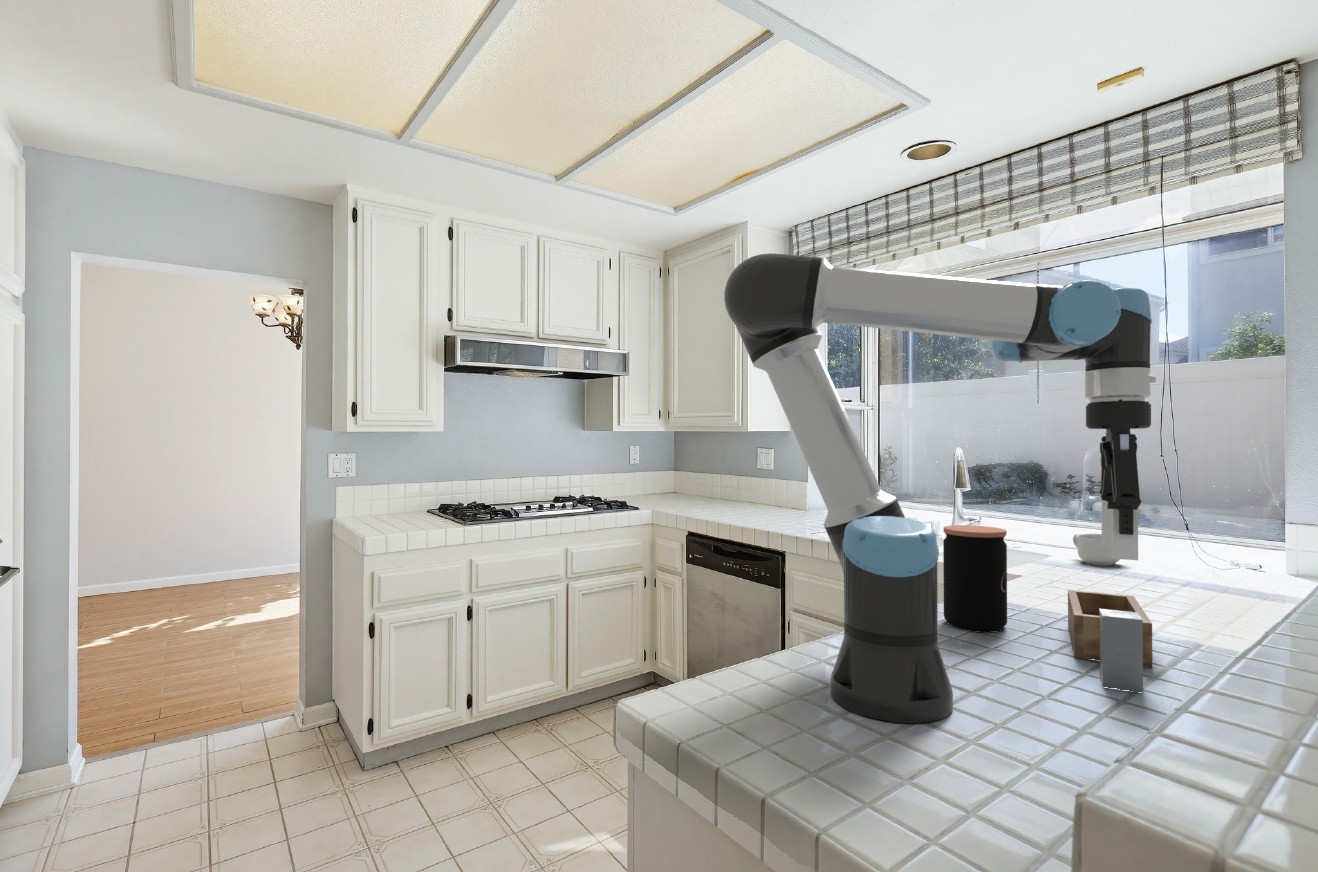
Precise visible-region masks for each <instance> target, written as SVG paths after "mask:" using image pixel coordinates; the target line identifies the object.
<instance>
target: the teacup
mask: <svg viewBox="0 0 1318 872" xmlns="http://www.w3.org/2000/svg"><path fill="white" fill-rule="evenodd" d="M1072 542H1073V545H1074V546H1075V547H1076V550H1077V554H1078V557H1079V558H1080V559H1081V560H1082V561H1083V562H1085V563H1086V564H1088V565H1094V566H1102V567H1104V566H1106V567H1107V566H1113V565H1115V564H1116V563H1118V562H1119V561H1120V560H1121V559H1113V558H1112V545H1102V533H1076V534H1074V535H1073V537H1072Z"/></svg>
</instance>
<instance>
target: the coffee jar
mask: <svg viewBox="0 0 1318 872" xmlns="http://www.w3.org/2000/svg"><path fill="white" fill-rule="evenodd" d="M1007 532H1008V531H1007V530H1006V529H1004V528H999V527H994V526H985V525H984V526H983V525H971V524H969V525H966V524H963V525H961V524H960V525H959V524H957V525H956V524H955V525H954V524H953V525H945V526H943V533H944V534H945V538H944V539H943V540H942V541H943V543H942V544H943V548H942V549H943V550H942V551H943V552H942V553H943V556H942V557H943V558H942V559H943V567H942V568H943V617H944V619H945V621H946V623H947V624H948V623H949V624H950V625H949V624H948V625H949V626H951V625H952V626H951V627H953V626H954V627H953V628H955V627H958V628H961V629H960V630H962V629H966V630H965V631H967V630H970V631H969V632H973V631H979V632H978V633H996V632H995V631H998V632H1001V631H1003V629H1004V628H1005V626H1006V625H1007V624H1008V544H1007V543H1006V541H1005V537H1006V536H1007ZM958 628H957V629H958ZM1000 630H1001V631H1000ZM993 631H994V632H993Z"/></svg>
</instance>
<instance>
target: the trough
mask: <svg viewBox="0 0 1318 872" xmlns="http://www.w3.org/2000/svg"><path fill="white" fill-rule="evenodd" d="M1099 609H1108V610H1118V611H1127V612H1137V613H1138V614H1139V615H1140V617H1141V619H1142V628H1143V667H1148V668H1147V669H1150V668H1152V669H1153V622H1152V621H1151V620H1150V618H1149V617H1148V615H1147V614H1146V612H1145V611H1144V609H1143V608H1142V606H1141V605H1140V603H1139V602H1138V601H1137V600H1136V597H1135V596H1134V595H1129V594H1127V595H1126V594H1125V595H1124V594H1117V593H1108V592H1107V593H1104V592H1095V591H1085V590H1077V589H1076V590H1074V589H1067V627H1068V628H1067V629H1068V632H1069V634H1068V635H1069V637H1070V643H1071V647H1072V652H1073V653H1074V654H1073V657H1074V659H1078V658H1082V659H1081V660H1085V659H1095V660H1100V629H1099Z"/></svg>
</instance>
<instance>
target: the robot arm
mask: <svg viewBox="0 0 1318 872" xmlns="http://www.w3.org/2000/svg"><path fill="white" fill-rule="evenodd" d="M723 294H724V305H725V310H726V312H727V315H728V317H729V318H730V320H731V321H732V322H733V324H734V325H735V328H736V330H737V332H738V334H739V336H740V338H741V340H742V342H743V345H744V347H745V349H746V352H747V354H748V356H749V358H750V361H751V363H752V365H753V367H754V368H756V369H759V370H761V371H764V372H765V373H767V376H768V378H769V380H770V382H771V385H772V387H773V389H774V391H775V394H776V396H777V398H778V400H779V403H780V405H781V407H782V409H783V411H784V415H785V416H786V419H787V421H788V423H789V425H790V428H791V430H792V432H793V434H794V437H795V440H796V441H797V443H798V446H799V449H800V450H801V453H802V454H803V457H804V460H805V462H806V464H807V466H808V469H809V471H810V473H811V475H812V478H813V480H814V481H815V484H816V486H817V489H818V491H819V493H820V496H821V497H822V500H823V502H824V504H825V507H826V509H827V514H826V516H825V520H824V521H823V522H824V523H823V527H824V529H825V531H826V533H827V536H828V538H829V540H830V543H831V545H832V548H833V550H834V552H835V554H836V558H837V559H838V561H839V564H840V566H841V568H842V569H841V570H842V573H843V599H844V600H843V610H844V611H843V622H844V623H843V625H844V626H843V629H844V631H843V632H844V633H843V638H842V642H841V644H840V649H839V650H838V654H837V657H836V660H835V663H834V666H833V668H832V671H831V677H830V695H831V698H832V699H833V700H834V702H836V703H837V704H838V705H840V706H841V707H842V708H844V709H846V710H848V711H850V712H853V713H855V714H858V715H860V716H864V717H867V718H872V719H874V720H875V719H876V720H881V721H886V722H893V723H906V724H907V723H908V724H914V723H915V724H918V723H919V724H920V723H930V722H935V721H939V720H942V719H944V718H946V717H949V716H950V715H951V714H952V712H953V711H954V703H953V702H954V699H953V698H954V697H953V696H954V694H953V688H952V685H951V681H950V679H949V676H948V672H947V670H946V665H945V664H944V660H943V658H942V655H941V654H942V653H941V651H940V648H939V641H938V637H939V635H938V632H939V631H938V625H939V623H938V619H939V618H938V561H939V555H940V550H939V545H938V540H937V535H936V532H935V530H934V529H933V528H932V527H931V526H930V525H928V524H927V523H925V522H923V521H920V520H914V519H911V518H908V517H905V514H904V512H903V510H902V508H901V506H900V504H899V501H898V499H897V497H896V496H895V495H893V494H890V493H888V492H885V491H884V490H883V489H881V486H880V484H879V482H878V480H877V477H876V476H875V473H874V470H873V469H872V466H871V464H870V462H869V460H868V458H867V455H866V453H865V451H864V449H863V447H862V444H861V441H860V439H859V438H858V435H857V432H856V431H855V429H854V426H853V424H852V422H851V420H850V417H849V416H848V413H847V412H846V409H845V407H844V405H843V402H842V400H841V397H840V396H839V394H838V391H837V389H836V387H835V384H834V382H833V379H832V378H831V376H830V373H829V372H828V369H827V367H826V365H825V363H824V361H823V358H822V356H821V354H820V352H819V346H820V343H821V340H822V339H823V334H822V332H821V329H820V325H822V324H825V323H826V324H835V325H845V326H854V327H862V328H866V327H867V328H875V329H882V330H883V329H884V330H894V331H901V332H904V331H905V332H913V333H921V334H922V333H923V334H931V335H939V336H940V335H941V336H949V337H950V336H951V337H961V338H970V339H979V340H980V339H981V340H990V341H991V342H992V344H991V345H992V352H993V354H994V356H995V358H997V360H999V361H1002V362H1018V363H1019V364H1021V363H1023V362H1039V361H1041V362H1042V361H1067V360H1068V361H1069V360H1073V361H1080V360H1084V361H1085V371H1084V374H1085V375H1084V377H1085V379H1084V386H1085V388H1084V392H1085V393H1084V398H1085V399H1087V400H1089V401H1090V402H1088V403H1087V404H1086V405H1085V426H1086V428H1088V429H1090V430H1105V435H1102V437H1101V439H1100V440H1101V441H1100V442H1099V453H1100V489H1099V494H1100V499H1101V503H1100V504H1101V534H1102V545H1112V558H1113V559H1120V560H1128V561H1139V510H1138V509H1139V507H1140V506H1141V505H1142V499H1141V495H1140V494H1141V493H1140V482H1139V470H1138V461H1137V460H1138V458H1137V457H1138V456H1137V453H1138V444H1137V441H1138V437H1137V436H1136V434H1135V433H1131V430H1133V429H1135V430H1136V429H1139V430H1142V429H1148V428H1150V427H1151V426H1152V404H1151V403H1150V402H1149V401H1146V399H1147V398H1149V397H1150V396H1151V384H1152V383H1155V382H1157V378H1156V376H1155V375H1150V374H1151V334H1152V333H1151V330H1152V329H1151V325H1152V321H1153V320H1152V315H1151V303H1150V297H1149V294H1148V293H1147V292H1146V291H1145V290H1143V289H1141V288H1136V287H1118V288H1111V287H1110V286H1109V285H1107V284H1105V282H1100V281H1098V280H1091V279H1085V280H1079V281H1075V282H1071V283H1068V284H1066V285H1065V284H1064V285H1063V286H1062V285H1052V284H1051V285H1049V284H1034V283H1022V282H1011V281H1001V280H1000V281H999V280H991V279H989V280H987V279H978V278H968V277H966V278H965V277H956V276H955V277H954V276H943V275H932V274H922V273H910V272H900V271H899V272H898V271H890V270H889V271H888V270H880V269H879V270H877V269H868V268H867V269H866V268H857V267H855V268H854V267H844V266H843V267H842V266H833V265H831V264H830V262H829V261H828V260H827V259H826V258H825V257H822V256H821V257H819V256H809V255H800V254H799V255H798V254H796V255H795V254H787V253H761V254H757V255H753V256H751V257H748V258H747V259H745V260H743V261H742V262H740V263H739V264H738V265H737V266H736V267H735V268H734V269H733V271H732V272H731V273H730V274H729V277H728V279H727V281H726V284H725V288H724V293H723Z"/></svg>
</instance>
